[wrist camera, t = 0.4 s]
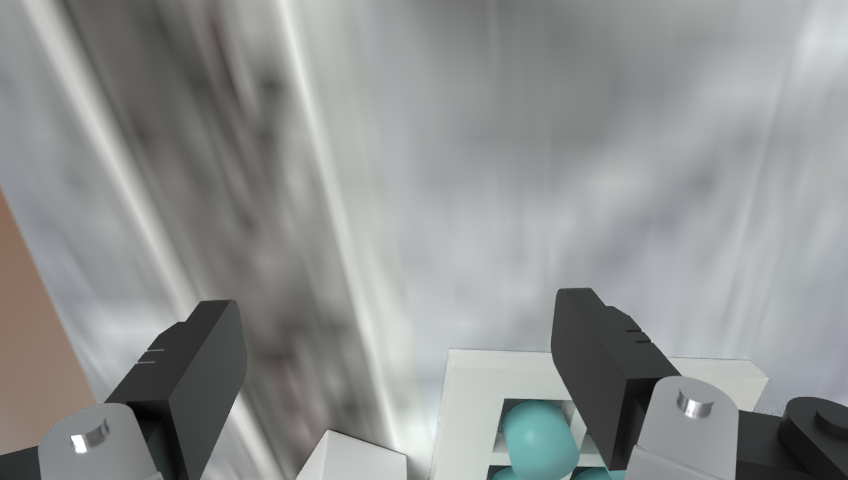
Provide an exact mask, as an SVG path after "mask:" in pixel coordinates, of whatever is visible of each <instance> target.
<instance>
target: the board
mask: <svg viewBox="0 0 848 480" xmlns="http://www.w3.org/2000/svg"><path fill="white" fill-rule="evenodd" d="M666 358H667V359H668V360H669V361H670V362H671V363H672V365H673V366H674V367H675V368H676V369H677V370H678V371H679V373H680V374H681V375H682V376H685V377H691V378H695V379H698V380H701V381H704V382H707V383H709V384H711V385H713V386H715V387H717V388H718V389H720V390H721V391H723V392H724V393H725V394H727V395H728V396H729V397H730V398H731V399H732V400H733V401H734V403H735V404H736V406H737V408H738V409H739V410H743V411H749V412H752V411H753V409H754V407H755V405H756V403H757V401H758V399H759V397H760V395H761V394H762V392H763V390H764V388H765V386H766V384H767V382H768V380H769V379H770V378H769V377H768V376H767V375H766V374H765V373H763V372H762V371H761V370H760V369H759V368H758V367H757V366H756V365H755V364H754V363H753V362H752V361H749V360H723V359H697V358H672V357H666ZM504 398H513V399H548V400H563V403H562V407H561V411H562V413H563V415H564V417H565V420H566V422H567V424H568V427H569V429H570V431H571V434H572V436H573V438H574V441H575V443H576V445H577V448H578V450H579V454H580V456H579V462H578V464H577V466H587V467H605V466H604V464H603V462H602V460H601V457H600V455H599V453H598V451H597V449H596V447H595V445H594V443H593V441H592V438H591V436H590V434H585V433H586V430H587V427H586V426H585V424H584V422H583V420H582V418H581V416H580V414H579V412H578V410H577V408H576V406H575V404H574V402H573V400H572V398H571V396H570V394H569V392H568V390H567V388H566V387H565V385H564V383H563V381H562V379H561V377H560V375H559V373H558V371H557V369H556V367H555V365H554V362H553V358H552V353H544V352H518V351H493V350H467V349H449V352H448V359H447V365H446V372H445V379H444V385H443V392H442V399H441V405H440V412H439V419H438V425H437V432H436V439H435V445H434V452H433V459H432V465H431V472H430V479H429V480H486V478H487V473H488V469H489V465H511V461H510V457H509V454H508V450H507V446H506V442H505V439H504V435H503V432H497V429H498V425H499V420H500V416H501V411H502V407H503V402H504ZM572 472H573V471H572ZM572 472H571V473H570V474H568V475H567V476H566V477H564V478H562V479H560V480H570V478H571V475H572Z"/></svg>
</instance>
